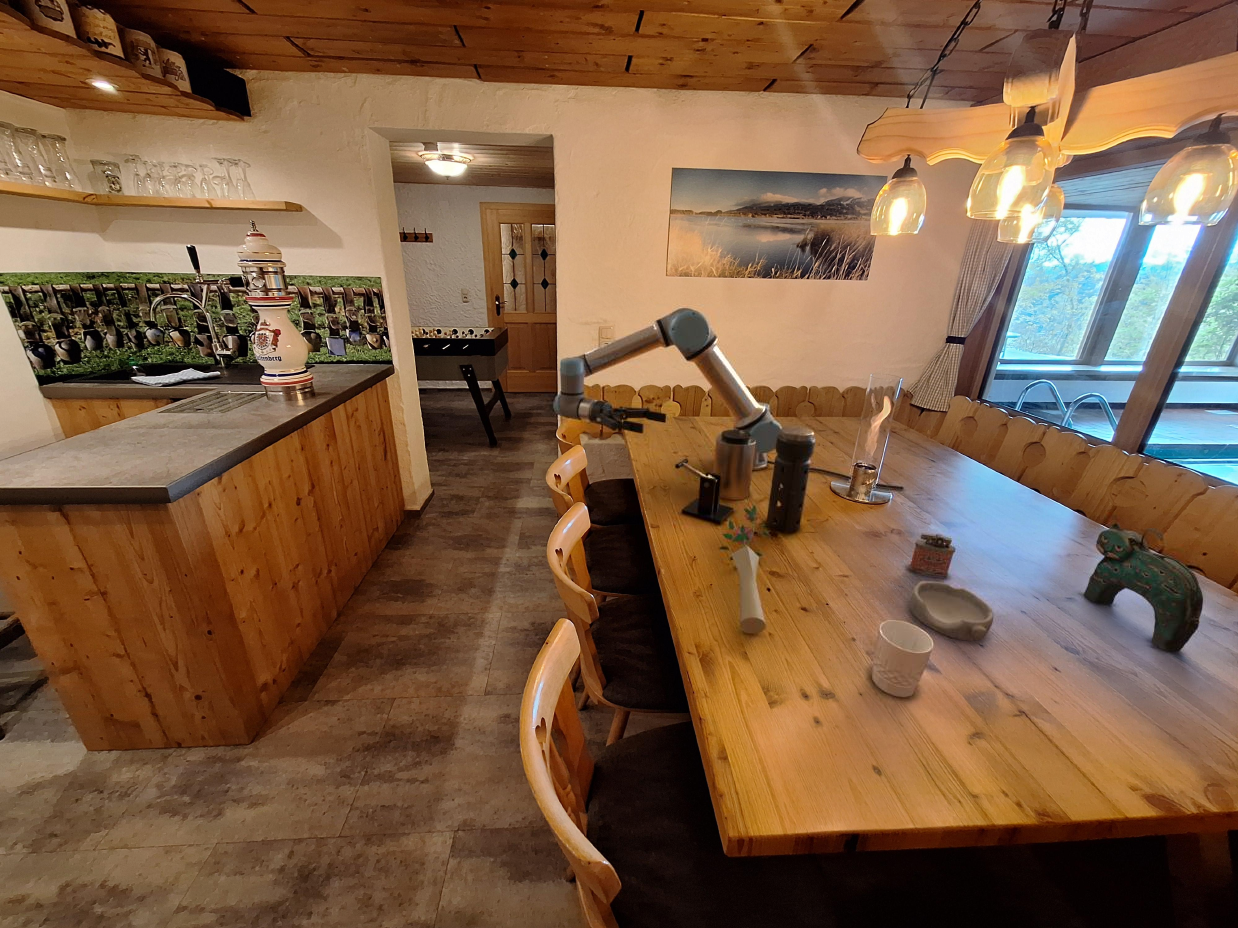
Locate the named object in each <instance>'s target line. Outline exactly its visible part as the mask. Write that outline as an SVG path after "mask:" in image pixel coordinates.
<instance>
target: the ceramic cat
mask: <svg viewBox="0 0 1238 928" xmlns="http://www.w3.org/2000/svg"><path fill="white" fill-rule="evenodd" d="M1150 531H1152V532H1154V533H1155V534H1156V535H1157V537H1158V538H1159V539H1160V541H1161V542H1162V541H1163V540H1164V537H1163V535H1162V533H1160V531H1158V530H1157V529H1155V528H1147V529H1146V530H1145V531H1144V532H1143V535H1141V534H1140V533H1138V532H1136V531H1132V530H1124V529H1123V528H1121V526H1120V525H1119V524H1118V523H1116V522H1115V523H1113V524H1112V525H1111V526H1110V527H1109V528H1108V529H1105V530H1102V531H1101V532H1100V533H1099V535H1098V537H1097V540H1096V542H1095V543H1096V544H1095V548H1096V550H1097V552H1099V553H1100V555H1102V556H1104V557H1103V558H1102V559H1101V560H1099V562H1098V563H1097V565H1096V567H1095V568H1094V571H1093V573H1092V574H1091V575H1090V576H1089V580H1088V583H1087V586H1086V588H1085V590H1084V593H1083V596H1084V597H1086V598H1087V599H1089V600H1090V601H1091V602H1093V603H1095V604H1100V605H1113V604H1114V601H1115V599H1116V597H1117V595H1118V594H1119V593H1120V592H1123V590H1125V589H1126V590H1129V591H1132V592H1134V593H1135V594H1137V595H1139V596H1141V597H1142V598H1143V599H1145V601H1147V602H1148V603H1149V605H1150V606H1151V607H1152V609H1153V612H1154V614H1153V615H1154V625H1153V633H1152V638H1151V643H1152V644H1153V645H1154V646H1155V647H1157V648H1159V649H1161V650H1162V651H1164V652H1180V651H1181V650H1182V649H1183V648H1184V647H1185V645H1186V644H1187V643H1188V642H1189V641H1190V639H1191V638H1192V636H1193V635H1194V634H1195V633H1196V631H1197V630H1198V629H1199V626H1200V619H1201V614H1202V611H1203V606H1204V595H1203V592H1202V589H1201V587H1200V584H1199V581H1198V577H1197V576H1196V574H1195V573H1194V572H1193V571H1192V570H1191V569H1190V568H1189V567H1188V566H1187V565H1186V564H1184V563H1183V562H1181V561H1180V560H1178V559H1176V558H1174V557H1171V556H1168V555H1163V554H1160V553H1157V552H1153V551H1151V549H1150V547H1149V544H1148V543H1147V541H1146V539H1145V536H1146V534H1147V532H1150Z"/></svg>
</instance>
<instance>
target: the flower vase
mask: <svg viewBox="0 0 1238 928" xmlns="http://www.w3.org/2000/svg"><path fill="white" fill-rule="evenodd" d="M743 510H744V512H745V515H744V517H745V520H746V521H747V522H749V523H752V529H751V528H749V526H745V525H744V524H742V525H741V526H738V528H737V529H735V528H736V527H735V525H734V522H733V521H732V520H731V519H729V520H728V529H729V530H730V531H733V534H731V533H722V536H723V537H724V538H725V539H727V540H729V541H731V540H732V541H731V543H738V544H739V545H740V546H741V545H742V546H743V547H742V548H740V549H737V550H736V551H734V552H733V551H732V550H731V549H730V548H729V547H728V546H727V545H723V546H720V547H718V550H724V551H731V553H730V557H729V560H730V561H733V563H734V565H735V568H736V570H737V575H738V580H739V581H738V582H739V607H740V608H739V610H740V611H739V612H740V613H739V617H740V619H739V628H740V629H741V630H742V632H744V633H747V634H753V635H756V634H759V633H763V631H764V630H765V629H766V626H767V623H766V619H765V616H764V611H763V608H762V607H763V606H762V604H761V599H760V593H759V590H758V584H757V573H758V568H759V561H760V557H762V556H764V554H763V553H761V552H760V551H754V550H753V549H752V548H751V547H750V546H749V545H750V542H751V543H754V541H755V536H753V535H755V532H758V533H761V535H763V536H764V537H767V538H772V537H771V534H770V533H769V532H768V531H766V530H763V531H761V528H762V527H764V526H766V524H762V525H760V527H759V530H755V522H757V521H758V518H759V517H758V512H757V507H756V504H754V505H753V506H752V507H751V509H749V508H746V507H743ZM734 529H735V531H734Z"/></svg>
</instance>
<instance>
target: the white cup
mask: <svg viewBox="0 0 1238 928" xmlns="http://www.w3.org/2000/svg"><path fill="white" fill-rule="evenodd" d="M934 645H935V644H934V640H933V638H932V637H931V636H930V635H929V634H928V633H927V631H925V630H923V629H921V628H920V627H919V626H916V625H914V624H912V623H909V622H907V621H904V620H896V619H888V620H885V621H882V622H881V623H880V624H879V627H878V632H877V638H876V643H875V648H874V654H873V661H872V668H871V673H870V674H871V679H872V681H873V683H874V684H875V685H876V687H877V688H879V689H880V690H882V691H883V692H885V693H887V694H889V695H891V696H894V697H899V698H907V697H911V696H913V695H914V694H915V692H916V690H917V687H918V685H919V683H920V681H921V679H922V676H923V674H924V672H925V669H926V667H927V664H928V661H929V660H930V656H931V654H932V651H933V650H934Z"/></svg>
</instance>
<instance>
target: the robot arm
mask: <svg viewBox="0 0 1238 928" xmlns="http://www.w3.org/2000/svg"><path fill="white" fill-rule="evenodd" d="M718 340H719V339H718V336H717V335H716V333H715V332H714V331H713V329H712V328H711V326H710V323H709V321H708V319H707V317H706V316H705V315H704V314H703V313H701V312H700V311H698V310H694V309H692V308H689V307H681V308H678V309H676V310H673V311H672V312H670V313H668V314H667V315H665V316H663V317H660V318H659V319H656V320H654V323H653V324H652V325H649V326H647V327H645V328H642V329H640V330H637V331H635V332H633V333H631V334H628V335H625V336H623V337H621V338H619V339H616V340H613V341H611V342H608V343H606V344H604V345H602V346H599V347H597V348H594V349H592V350H590V351H588V352H585V353H583V354H580V355H578V356H573V357H565V358H561V359H560V361H559V362H560V363H559V365H560V366H559V377H560V378H559V379H560V393H559V394H557V395H556V396H555V397H554V402H553V405H552V406H553V411H554V413H555V414H556V415H558V416H561V417H563V418H566V419H571V420H577V421H581V422H587V424H591V423H592V424H595V425H599V426H604V427H606V428H608V429H610V430H611V431H612V432H616V431H617V432H618V433H622V432H623V430H624V431H628V432H633V433H637V434H644V423H641V422H636V421H630V420H628V419H646V420H648V421H653V422H658V423H663V424H665V423H667V413H663V412H659V411H653V410H651V408H649V407H632V406H631V407H630V406H629V407H628V406H623V405H621V406H619V407H613V406H612V403H611V402H608V401H607V400H599V399H596V398H589V397H585V396H584V395H585V378H587V377H590V376H592V375H595V374H597V373H599V372H602V371H604V370H607V369H609V368H611V367H614V366H616V365H620V364H621V363H624V362H627V361H628V360H631V359H634V358H636V357H638V356H639V357H640V356H641V355H643V354H647V353H648V352H651V351H653V350H656V349H658V348H660V347H661V348H664V349H667V348H669V347H671V346H675V347H676V348H677V350H678V351H679V352H680V354H681V355H682V356H683V358H684V359H685V361H686V362H690V363H694V364H695V366H696V368H698V371H700V373H701V374H702V376H703V377H704V378H705V379H706V381H707V382H708V383H709V385H710V386H711V388H712V390H713V391H714V392H715V394H716V395H717V396H718V397H719V399H720V400H721V401H722V403H723V404H724V406H725V407H726V408H727V410H728V412H730V414H731V415H732V417H733V418H734V419H733V428H732V430H741V431H745V432H748V433H750V434H751V437H753V438H754V439H755V440H756V443H755V452H754V460H753V468H752V471H761V470H763V469H766V468H767V467H768V464H770V465H773V466H774V463H775V461H772V460H768V455H767V453H771V452H773V451H774V450H776V449H775V448H776V441H777V436H778V434H779V433H781V428H782V425H781V424H780V423H779V422H778V421H776V419H775V418H774V417H773V415H772V414H771V412H770V404H768V403H765V402H758V401H756V399H755V398H754V396H753V395H752V394H751V392H750V391H749V389H748V388H747V386H746V385H745V384H744V382H743V381H742V380H741V378H740V376H739V375H738V374H737V372H736V371H735V370H734V367H732V365H731V364H730V362H729V361H728V360H727V357H725V355H724V353H722V351H721V350H720V348H719V346H718ZM809 471H815V472H819V473H820V472H821V473H825V474H829V475H833V476H836V477H840V478H844V479H847V480H851V477H852V476H849V475H845V474H843V473H840V472H835V471H831V470H826V469H822V468H817V467H810V469H809ZM876 483H877V484H876V485H875V487H881V488H887V489H895V490H896V489H897V490H904V486H903V485H892V484H891V485H890V484H884V483H878V482H876Z"/></svg>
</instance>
